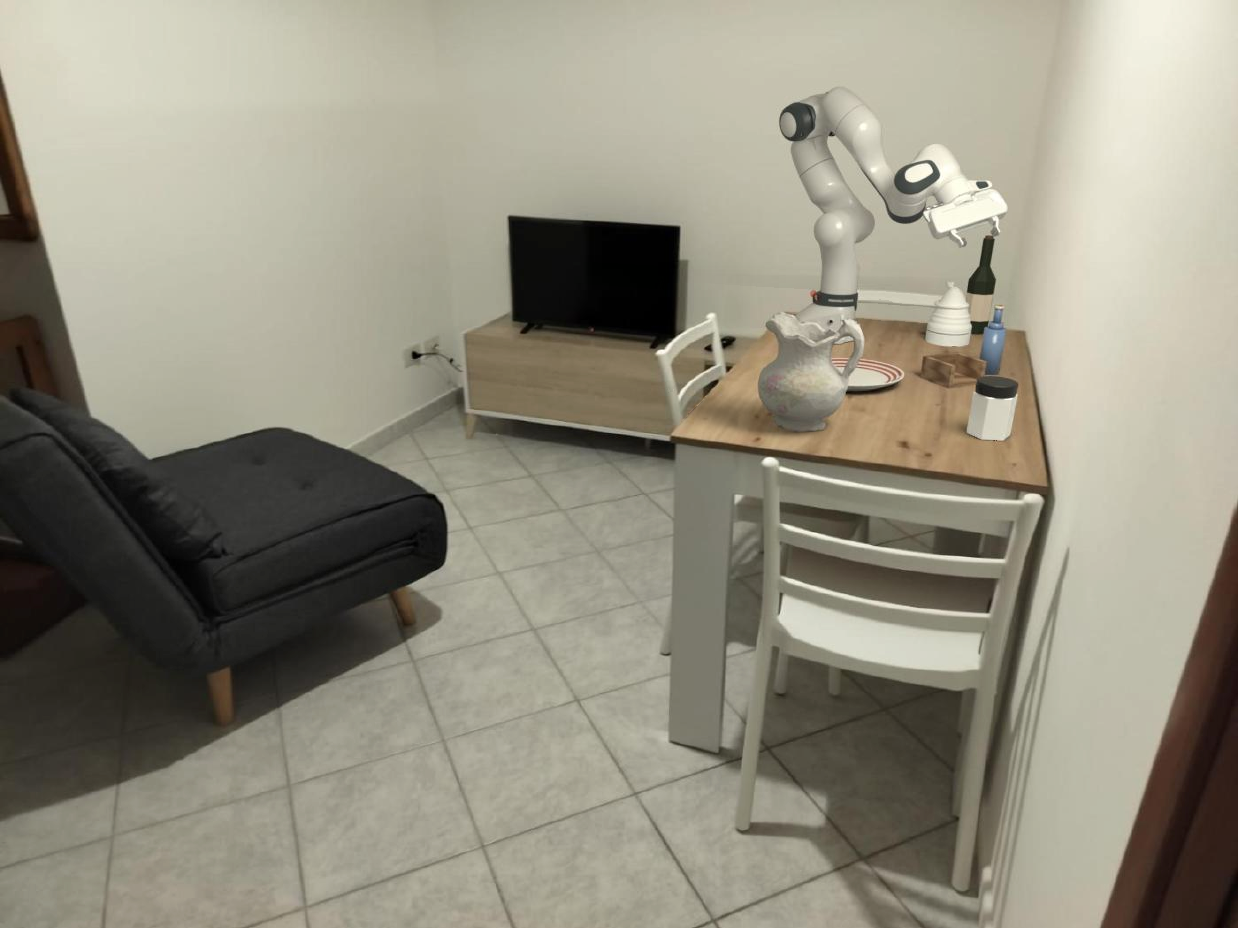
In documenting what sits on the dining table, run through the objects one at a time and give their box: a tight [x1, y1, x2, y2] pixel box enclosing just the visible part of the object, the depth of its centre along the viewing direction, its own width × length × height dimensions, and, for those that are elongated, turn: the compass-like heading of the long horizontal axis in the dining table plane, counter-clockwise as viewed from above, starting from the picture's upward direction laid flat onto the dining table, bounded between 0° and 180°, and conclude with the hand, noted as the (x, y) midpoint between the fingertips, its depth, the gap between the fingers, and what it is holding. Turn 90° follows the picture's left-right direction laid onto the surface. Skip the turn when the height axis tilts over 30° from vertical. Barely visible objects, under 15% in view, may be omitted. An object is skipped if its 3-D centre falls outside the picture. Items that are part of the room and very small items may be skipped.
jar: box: [966, 375, 1019, 442], centre depth 178 cm, size 9×8×12 cm
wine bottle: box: [965, 234, 997, 336], centre depth 262 cm, size 8×8×30 cm
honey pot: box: [924, 280, 972, 347], centre depth 253 cm, size 13×13×18 cm
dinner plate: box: [831, 357, 905, 392], centre depth 217 cm, size 28×27×3 cm
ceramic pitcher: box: [757, 311, 865, 433], centre depth 182 cm, size 22×20×25 cm
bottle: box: [978, 304, 1007, 376], centre depth 221 cm, size 5×5×18 cm
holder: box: [920, 351, 987, 389], centre depth 217 cm, size 10×11×6 cm
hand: (980, 240), depth 214 cm, fingers open, 8 cm apart
